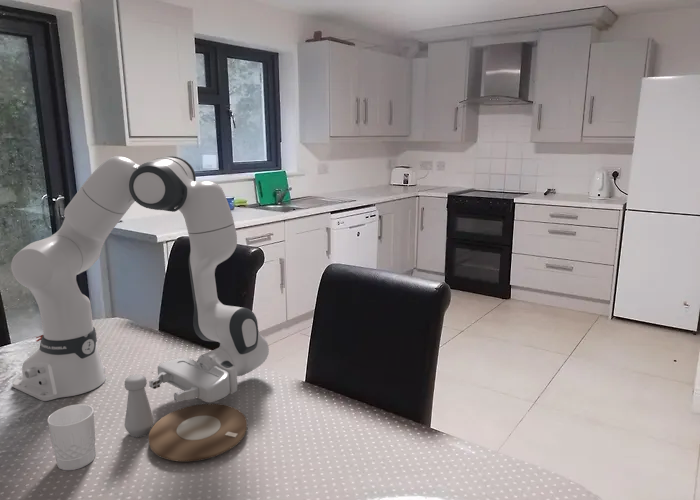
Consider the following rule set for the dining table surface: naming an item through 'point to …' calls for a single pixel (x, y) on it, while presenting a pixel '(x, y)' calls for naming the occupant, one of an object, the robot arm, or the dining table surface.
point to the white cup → (73, 436)
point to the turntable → (197, 432)
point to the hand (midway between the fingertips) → (163, 391)
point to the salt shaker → (137, 407)
